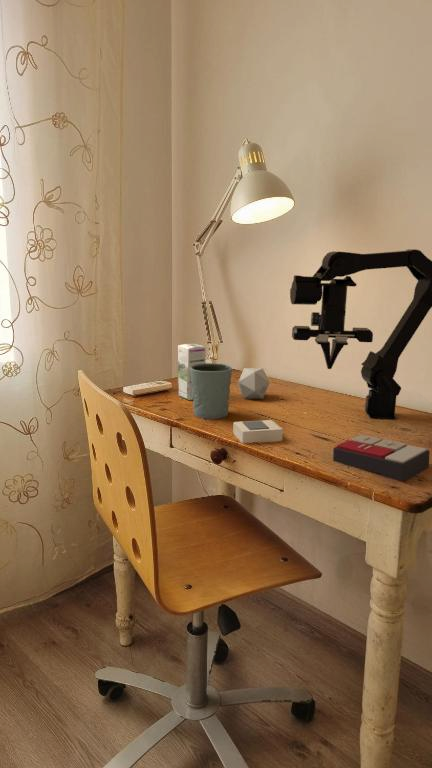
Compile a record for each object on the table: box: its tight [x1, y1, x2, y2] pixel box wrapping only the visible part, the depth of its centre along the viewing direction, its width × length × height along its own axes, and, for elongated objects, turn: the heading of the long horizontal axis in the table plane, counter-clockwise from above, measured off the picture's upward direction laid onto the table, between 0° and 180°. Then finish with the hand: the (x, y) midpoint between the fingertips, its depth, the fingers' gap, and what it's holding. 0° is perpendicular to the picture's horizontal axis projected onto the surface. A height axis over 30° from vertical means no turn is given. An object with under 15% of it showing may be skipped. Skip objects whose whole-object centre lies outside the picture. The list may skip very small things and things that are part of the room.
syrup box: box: [177, 343, 206, 401], centre depth 158 cm, size 6×6×14 cm
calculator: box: [332, 434, 430, 483], centre depth 113 cm, size 11×4×15 cm
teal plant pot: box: [190, 362, 233, 420], centre depth 143 cm, size 10×10×12 cm
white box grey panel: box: [232, 419, 283, 444], centre depth 127 cm, size 3×7×9 cm
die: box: [237, 367, 271, 400], centre depth 160 cm, size 8×9×10 cm
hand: (329, 368), depth 142 cm, fingers closed
